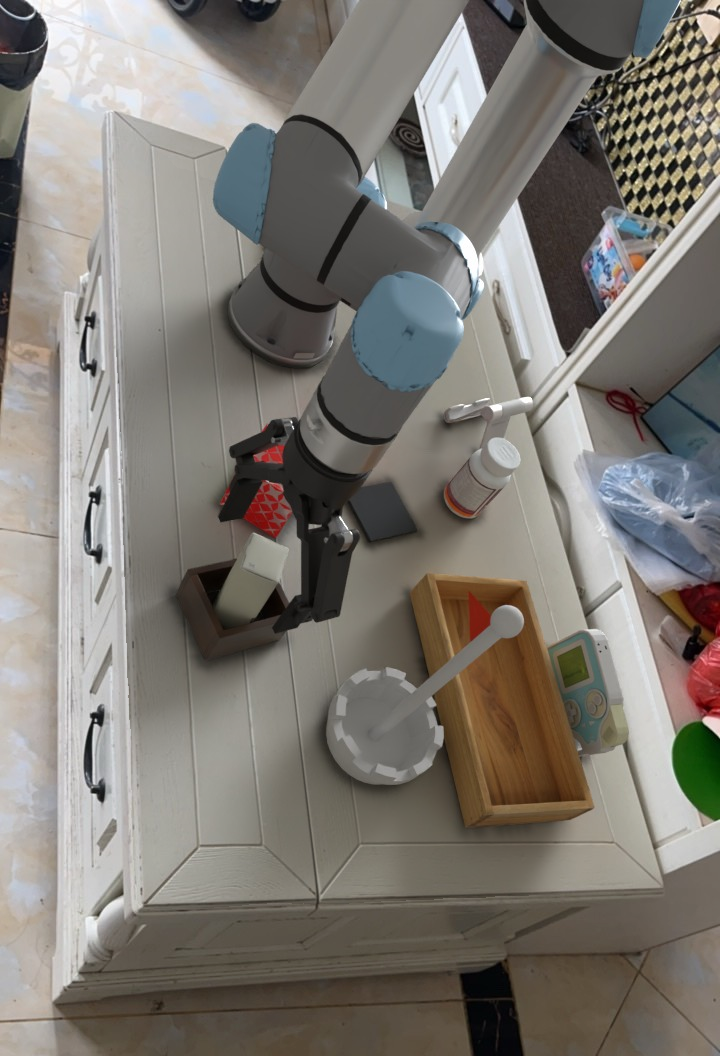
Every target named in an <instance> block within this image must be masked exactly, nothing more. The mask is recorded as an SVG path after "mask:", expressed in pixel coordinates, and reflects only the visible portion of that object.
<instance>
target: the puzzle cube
mask: <svg viewBox="0 0 720 1056" xmlns="http://www.w3.org/2000/svg"><path fill="white" fill-rule="evenodd" d="M268 424H269V423H266V424H265V425H264V427H263V429H262V430H261V432H263V431H264V430H265V429H266V427H267V426H268ZM284 446H285V445H283V446H279V445H278V446H275V447H273V448H271V449H268V450H266V451H263V452H261V453H259V454H256V455H254V459H255V462H258V461H264V462H267V463H277V464H283V459H282V455H283V449H284ZM233 477H234V475H233V476H232V478H231V480H230V483H231V481H232V479H233ZM262 481H263V483H262V485H261V487H260V488H259V490H258V492H257V494H256V496H255V498H254V499H253V501H252V503H251V505H250V507H249V508H248V510H247V512H246V514H245V516H244V518H243V520H245V521H247V522H248V523H250V524H251V525H253V526H255V527H257V528H258V529H260V530H261V531H263V532H264V533H266V534H268V535H270V536H271V537H273V538H275V539H277V537H279V534H280V533H281V531H282V530H283V528H284V526H286V525H285V524H286V523H287V522H288V520H289V519H290V517H291V515H292V514H293V512H292V509H291V506H290V505H289V503H288V502H287V501H286V499H285V497H284V495H283V492H284V490H283V485H281V484H278V483H270V482H269V481H265V480H262ZM230 483H229V484H228V486H227V489H226V490H225V492H224V495H223V497H222V498H221V500H220V503H219V505H221V506H222V507H223V505H224V503H225V501H226V499H227V497H228V496H229V494H230V491H229V485H230Z"/></svg>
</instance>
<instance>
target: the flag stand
mask: <svg viewBox="0 0 720 1056" xmlns="http://www.w3.org/2000/svg"><path fill="white" fill-rule="evenodd" d="M469 621H470V643H469V644H468V645H467V646H466V647H464V648H463V649H462V650H461V651H460V652H459V653H458V654H456V655H455V656H454V657H453V658H452V659H451V660H450V661H448V662H447V663H446V664H445V665H444V666H443V667H441V668H440V669H439V670H438V671H437V672H436V673H435V674H433V675H432V676H431V677H430V676H429V677H428V678H427V679H426V680H425V681H424V682H423V683H422V684H421V685H419V686H418V687H415V685H413V684H412V683H411V682H410V681H407V680H406V675H407V673H406V672H404V671H401V670H399V669H397V668H392V667H389V666H385V667H384V668H383V669H382V670H368V669H367V668H363V669H361V670H358V671H356V672H355V673H354V674H353V675H351V676H349V678H348V679H347V680H345V682H343V684H342V685H341V686H340V687H339V688H338V689H337V691H336V692H335V693H334V695H333V696H332V698H331V701H330V704H329V707H328V713H327V720H326V727H325V736H326V742H327V746H328V749H329V752H330V753H331V755H332V757H333V759H334V760H335V762H336V763H337V764H338V766H339V767H340V768H341V769H342V771H344V772H345V773H346V774H348V775H349V776H350V777H352V778H354V779H355V780H357V781H359V782H362V783H364V784H369V785H387V786H394V785H398V786H399V785H402V784H405V783H408V782H410V781H412V780H414V779H416V778H417V777H419V776H420V775H422V774H423V773H425V772H426V771H427V770H428V769H430V768H431V766H433V765H434V763H433V762H434V759H435V757H436V755H437V752H438V750H440V749H441V748H443V744H444V729H443V726H441V725H438V721H437V717H436V715H435V712H434V710H433V709H434V708H436V707H437V704H436V702H435V698H434V697H433V696H434V693H436V692H437V691H438V690H439V689H440V688H442V687H443V686H444V685H445V684H446V683H448V682H449V681H450V680H451V679H452V678H454V677H455V676H456V675H457V674H458V673H460V672H461V671H462V670H463V669H464V668H466V667H467V666H468V665H469V664H470V663H472V662H473V661H474V660H475V659H476V658H478V657H479V656H480V655H481V654H482V653H484V652H485V651H486V650H487V649H488V648H490V647H491V646H492V645H493V644H494V643H496V642H497V641H498V640H499V639H500V638H512V637H515V636H516V635H518V634H519V633H520V632H521V630H522V628H523V625H524V618H523V615H522V613H521V612H520V611H519V610H518V609H517V608H516V607H514V606H510V605H504V606H501V607H499V608H497V609H496V610H495V611H494V612H493V613H492V616H491V615H490V614H489V613H488V612H487V610H486V609H485V608H484V607H483V606H482V605H481V604H480V603H479V601H478V600H477V599H476V598H475V597H474V596H473V595H472V594H471V592H470V591H469Z"/></svg>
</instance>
